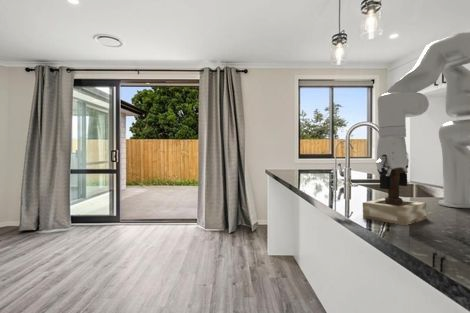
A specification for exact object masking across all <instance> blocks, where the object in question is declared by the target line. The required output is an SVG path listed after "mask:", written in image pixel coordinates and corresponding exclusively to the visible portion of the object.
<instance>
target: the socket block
mask: <svg viewBox="0 0 470 313" xmlns="http://www.w3.org/2000/svg"><path fill="white" fill-rule="evenodd" d="M385 198H386V197H383V198H378V199H374V200H368V201H363V202H362V218H363V219H367V220H373V221H377V222H383V223H387V222H388V223H389V224H393V223H395V225H398V224H399V226H404V225H405V226H404V227H406V225H407V226H409V225H408V224H410V225H412V223H413V224H416V223H419V222H421V221H425V220H426V219H427V217H428V215H427V202H424V201H414V200H406V199H402V202H403V204H401V205H399V206H396V205H388V204H386V203H385ZM415 222H416V223H415Z"/></svg>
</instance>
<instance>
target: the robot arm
mask: <svg viewBox="0 0 470 313" xmlns="http://www.w3.org/2000/svg"><path fill="white" fill-rule="evenodd" d="M467 64H470V32H458V33H456V34H452V35H449V36H447V37H444V38H440V39H438V40H434V41H432V42H430V43H429V44H427V45H426V46H425V48H424V49H423V50H422V53H421V54H420V56H419V58H418V59H417V60H416V63H415V64H414V66H413V67H412V69H411V70H410V71H409V72H407V73H406V74H405V75H403V76H402V77H401V78H399V79H398V80H396V82H394V83H393V84H392V85H391V86H390V87H389V88H388V89H387V90H386V92H385V93H383V94H380V95H379V96H378V97H377V121H378V122H377V123H378V124H377V125H378V140H377V146H376V147H377V148H376V162H375V165H376V167H377V169H376V170H377V172H378V176H379V188H380V189H381V190H388V189H391V176H389V175H390V172H391V170H392V169H396V168H403V169H404V173H399V175H400V178H399V187H400V186H401V187H407V186H408V172H409V171H408V168H409V162H410V161H409V158H408V153H407V151H408V150H407V144H406V137H407V126H406V122H407V121H406V118H413V117H418V116H421V115H423V114H425V112H427V111H428V109H429V105H430V103H429V99H428V97H427V96H426V95H425V94H423V93H421V91H423V90H425V89H427V88H428V87H430V86H432V85H433V84H435V83H436V82H437V81H438V80H439V78H440V76H441V74H442V75H443V76H444V79H445V81H446V92H445V113H446V115H447V116H448V117H450V118H465V117H467V119H457V120H451V121H447V122H446V123H443V124H442V125H440V127H439V130H438V138H439V141H440V142H439V143H440V146H441V153H442V185H443V187H442V188H443V191H442V192H443V199H441V200H438V204H439V205H440V206H444V207H449V208H459V209H460V208H462V209H470V149H469V148H468V147H470V119H469V118H468V117H470V69H469V68H466V67H465V66H464V65H467ZM386 170H387V171H386Z"/></svg>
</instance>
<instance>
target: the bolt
mask: <svg viewBox="0 0 470 313" xmlns="http://www.w3.org/2000/svg"><path fill="white" fill-rule="evenodd" d="M386 171H387V170H386ZM399 173H404V169H403V168H396V169H392V170H391V172H390V175H389V176H391V189H387V196H386V197H384V198H385V203H386V204H388V205H396V206H399V205H401V204H403V202H402V200H403V198H401V197H400V186H399V178H400V175H399Z"/></svg>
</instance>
